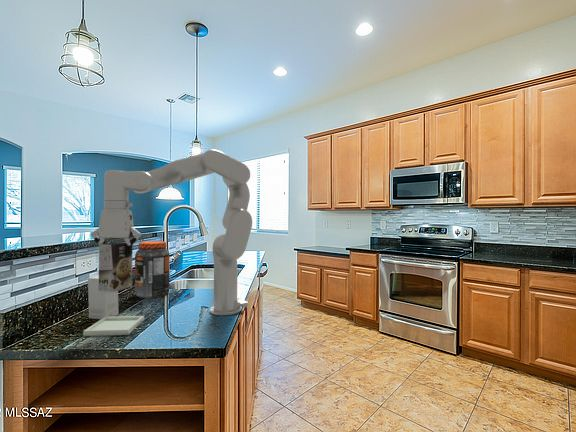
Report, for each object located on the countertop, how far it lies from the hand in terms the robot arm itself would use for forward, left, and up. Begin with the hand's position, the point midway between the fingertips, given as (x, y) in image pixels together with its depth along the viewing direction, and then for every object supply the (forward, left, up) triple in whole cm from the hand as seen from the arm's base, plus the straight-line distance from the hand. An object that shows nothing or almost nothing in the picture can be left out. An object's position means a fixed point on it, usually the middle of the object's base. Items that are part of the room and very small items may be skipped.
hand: (116, 256), depth 108 cm
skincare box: (+10, -12, -25) cm, 30 cm away
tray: (0, 0, -25) cm, 25 cm away
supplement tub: (+3, -45, -25) cm, 52 cm away
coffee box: (0, 0, -12) cm, 12 cm away
